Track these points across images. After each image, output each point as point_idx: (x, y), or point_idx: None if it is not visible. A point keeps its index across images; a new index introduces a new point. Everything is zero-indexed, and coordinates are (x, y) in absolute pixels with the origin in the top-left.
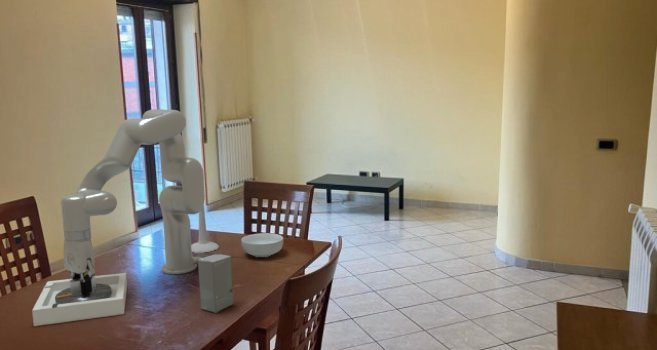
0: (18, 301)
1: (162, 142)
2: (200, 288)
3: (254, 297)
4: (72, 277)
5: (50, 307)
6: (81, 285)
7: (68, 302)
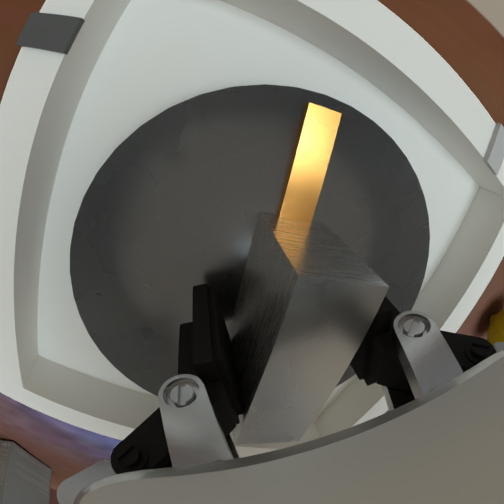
0: (496, 65)
1: None
2: (3, 481)
3: (51, 484)
4: (404, 326)
5: (52, 3)
6: (198, 339)
7: (132, 149)
